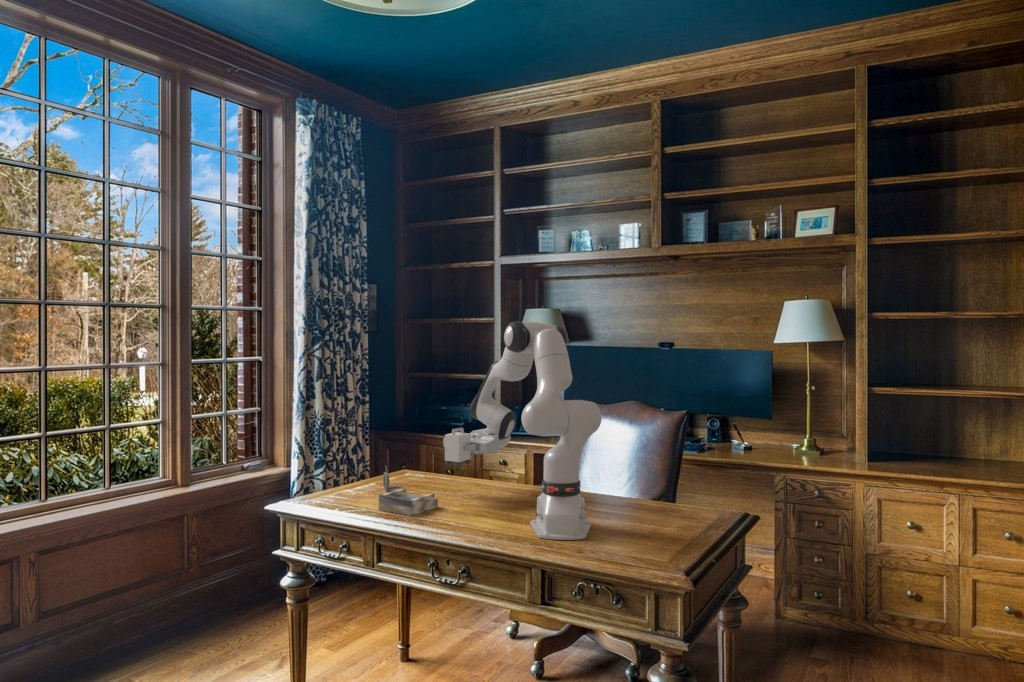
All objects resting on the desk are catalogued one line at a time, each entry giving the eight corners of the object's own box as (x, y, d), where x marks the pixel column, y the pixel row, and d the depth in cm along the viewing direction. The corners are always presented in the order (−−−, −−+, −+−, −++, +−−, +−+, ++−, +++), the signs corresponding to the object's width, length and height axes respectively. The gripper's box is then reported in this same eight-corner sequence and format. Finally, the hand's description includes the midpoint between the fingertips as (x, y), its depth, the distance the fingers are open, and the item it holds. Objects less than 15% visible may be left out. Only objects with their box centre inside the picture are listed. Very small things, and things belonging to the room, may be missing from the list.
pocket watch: (408, 490, 257) (408, 464, 257) (392, 495, 250) (392, 468, 250) (392, 488, 262) (392, 461, 261) (376, 492, 255) (376, 465, 255)
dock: (406, 501, 241) (406, 487, 241) (437, 507, 233) (437, 492, 233) (378, 510, 229) (378, 495, 229) (410, 516, 222) (410, 501, 222)
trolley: (456, 462, 244) (456, 426, 244) (471, 464, 241) (471, 427, 240) (444, 466, 238) (444, 428, 238) (458, 468, 235) (459, 430, 234)
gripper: (456, 431, 256) (433, 435, 244) (502, 435, 245) (479, 440, 233) (456, 447, 256) (433, 453, 244) (502, 453, 245) (479, 459, 233)
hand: (456, 447), depth 239 cm, fingers closed on trolley, 6 cm apart
